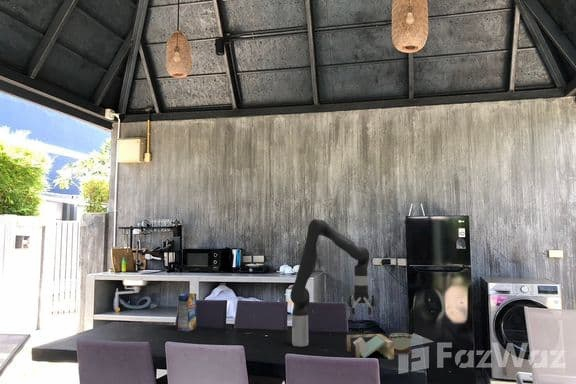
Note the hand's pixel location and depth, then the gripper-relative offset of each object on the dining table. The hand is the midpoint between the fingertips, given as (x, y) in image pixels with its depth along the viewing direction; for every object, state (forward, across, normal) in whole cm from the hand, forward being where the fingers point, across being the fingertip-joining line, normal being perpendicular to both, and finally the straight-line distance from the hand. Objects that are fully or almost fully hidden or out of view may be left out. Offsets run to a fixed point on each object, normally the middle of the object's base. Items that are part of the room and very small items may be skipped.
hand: (361, 314), depth 231 cm
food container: (+21, +22, +2) cm, 30 cm away
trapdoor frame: (+21, +4, 0) cm, 21 cm away
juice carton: (+23, -101, +82) cm, 132 cm away
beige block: (+18, +1, 0) cm, 19 cm away
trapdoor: (+17, +5, 0) cm, 18 cm away
